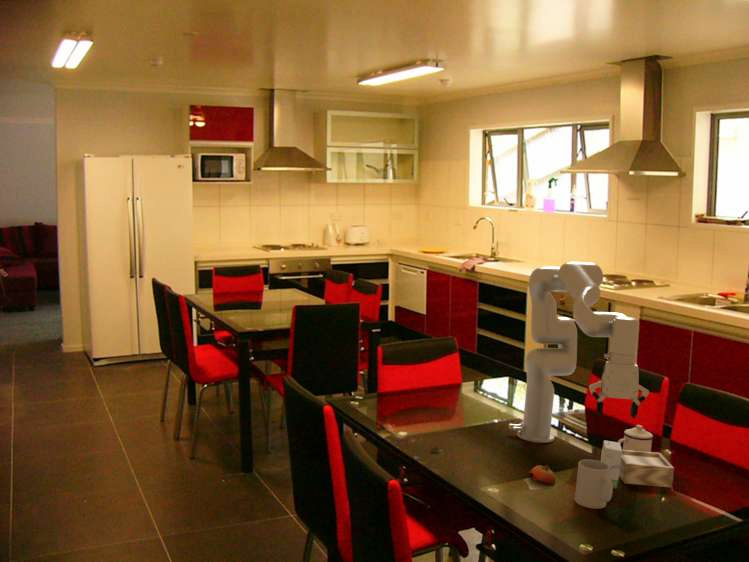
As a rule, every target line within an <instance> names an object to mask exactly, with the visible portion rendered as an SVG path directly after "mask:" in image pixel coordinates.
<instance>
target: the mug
mask: <svg viewBox="0 0 749 562" xmlns="http://www.w3.org/2000/svg"><path fill="white" fill-rule="evenodd" d="M609 473H610V466H609V465H608V464H606V463H604V462H601V460H596V459H581V460H580V461H578V466H577V475H576V484H575V493H574V501H575V503H577V505H579V506H581V507H584V508H588V509H593V510H595V509H596V510H598V509H604V508H605V507H606V506H607V503H608V502H610V501H611V499H612V497H613V489H614V488H613V484H612V481H611V479H610V478H609Z"/></svg>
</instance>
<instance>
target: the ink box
mask: <svg viewBox="0 0 749 562" xmlns="http://www.w3.org/2000/svg"><path fill="white" fill-rule="evenodd" d="M602 442H603V443H602V448H601V455H600V461H601V462H604V463H606V464H608V465H609V466H610V473H609V478H610V479H611V481H612V484H613V489H615V490H616V489H618V484H619V478H620V476H619V471H620V464H621V456H622V450H623V448H622V445H621V444H620V443H618V441H617V442H616V441H610V440H603V441H602Z"/></svg>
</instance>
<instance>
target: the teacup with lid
mask: <svg viewBox="0 0 749 562" xmlns="http://www.w3.org/2000/svg"><path fill="white" fill-rule="evenodd" d="M623 435H624V436H623V438H620V439H619V440H618V441H617V442H618V443H620V445H621V444H622V443H623V444H622V445H623V446H622V450H632V451H644V452H652V445H653V444H652V443H653V439H654V435H653V434H652V433H651V432H649V431H647V430H646V429H645V428H643V425H640V424H636V425H635V427H632V428H629V429H625V430H624V431H623Z"/></svg>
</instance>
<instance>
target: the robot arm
mask: <svg viewBox="0 0 749 562" xmlns="http://www.w3.org/2000/svg"><path fill="white" fill-rule="evenodd" d="M603 280H604V271H603V270H602V268H601V267H600V266H599V264H597V263H595V262H588V261H587V262H586V261H585V262H584V261H569V262H565V263H564V264H562V265H561V266H541V267H537V268H535V269H534V270H533V271H532V272H531V274H530V276H529V280H528V289H529V294H530V295H529V296H530V299H531V301H530V302H531V316H530V317H531V318H530V319H531V320H530V323H531V324H530V327H531V328H530V329H531V331H530V332H531V333H530V335H531V339H532V341H533V342H534V343H535V344H540V345H557V347H558V348H557V347H539V348H534V349H531V350H530V351H528V353H527V354H526V357H525V366H526V367H525V370H526V386H525V387H526V388H525V399H524V408H523V409H524V410H523V419H522V420H523V421H521V423H517V424H516V423H509V424H508V429H509V430H513V431H515V432H517V438H520V439H521V440H523V441H527V442H530V443H531V442H532V443H535V444H536V443H537V444H545V443H546V444H548V443H552V442H554V440H555V435H554V434H553V433H551V430H552V429H551V428H552V418H553V410H554V409H553V408H554V398H555V388H554V384H553V383H552V380H551V379H550V377H560V376H561V377H564V376H565V377H566V376H570V375H572V374H573V373H574V372H575V370H576V368H577V359H578V357H577V356H578V328H579V329H580V330H581V331H582V333H583V334H585V335H586V336H587V337H592V338H610V341H609V342H610V343H609V351H608V352H607V353H604V354H603V358H604V359H607V360H608V361H606V362H605V365H604V367H603V371H602V377H601V380H599V381H597V382H595V383H592V384H589V385H588V388H589V391H590V393H591V395H592V396H593V398H595V400H596V405H595V411H596V412H597V414H598V416H603V412H604V411H603V410H604V402H603V401H604V399H605V398H611V399H613V398H614V399H623V400H626V399H627V400H632V402H631V404H630V411H629V412H630V413H629V415H630V417H631V418H632V419H636V416H637V415H638V412H639V406H640V405H641V404H642V402H644V401H645V400H646V398H647V397H648V395H649V394H650V391H649V389H647V388H645V387H643V385H641V384H639V383H640V381H639V379H640V377H639V376H640V375H639V374H640V373H639V366H638V364H636V358H637V349H638V341H639V331H640V321H639V320H638V319H637V318H635V317H631V316H627V315H625V314H624V313H621V312H615V311H613V312H611V311H593V310H591V309H590V308H591V307H592V306H594V305H595V304H596V303H597V302H598V301H599V300H600V297H601V292H602V291H601V289H600V286H601V285H602V283H603ZM552 292H557V293H568V294H569V295H570V296H571V298H572V299H573V301H574V302H573V304H572V315H573V316H572V317H573V319H572V318H570V317H566V316H557V315H558V314H557V313H558V312H557V310H558V309H557V308H558V304H557V301H556V299H555V297H554V295H553V294H552ZM576 325H577V326H576ZM577 327H578V328H577ZM598 388H600V392H599V393H597V391H596V389H598ZM639 391H641V392H642V393H641V395H639ZM638 395H639V396H638Z"/></svg>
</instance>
